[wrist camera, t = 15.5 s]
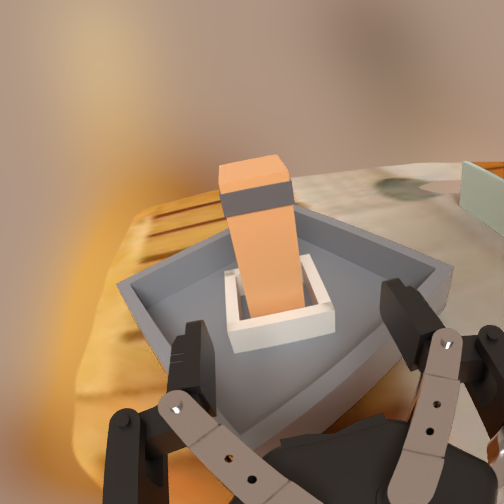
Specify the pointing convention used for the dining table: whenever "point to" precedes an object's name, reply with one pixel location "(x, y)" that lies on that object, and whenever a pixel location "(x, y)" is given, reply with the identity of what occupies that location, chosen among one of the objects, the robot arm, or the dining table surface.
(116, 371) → the dining table surface
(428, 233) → the dining table surface
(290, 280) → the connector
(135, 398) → the dining table surface
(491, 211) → the l-shaped corner panel
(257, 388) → the walled box
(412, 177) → the dining table surface
